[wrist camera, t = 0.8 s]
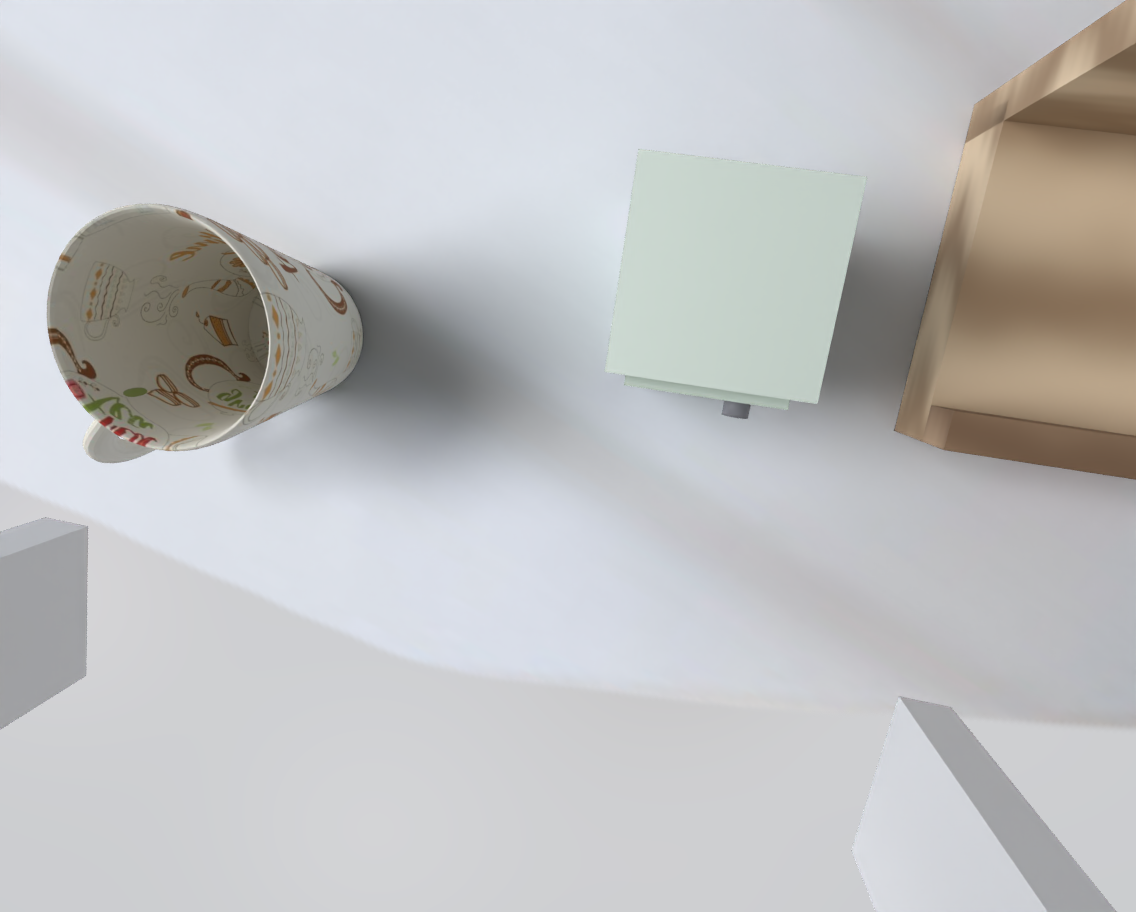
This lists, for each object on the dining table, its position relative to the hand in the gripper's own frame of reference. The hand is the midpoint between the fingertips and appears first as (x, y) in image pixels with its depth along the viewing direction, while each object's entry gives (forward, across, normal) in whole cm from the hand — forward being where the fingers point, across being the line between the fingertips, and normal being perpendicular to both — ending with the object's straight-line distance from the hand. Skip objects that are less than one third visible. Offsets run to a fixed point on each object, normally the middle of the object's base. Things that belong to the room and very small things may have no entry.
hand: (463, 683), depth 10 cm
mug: (+22, -16, +1) cm, 27 cm away
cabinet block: (+22, +4, +8) cm, 23 cm away
